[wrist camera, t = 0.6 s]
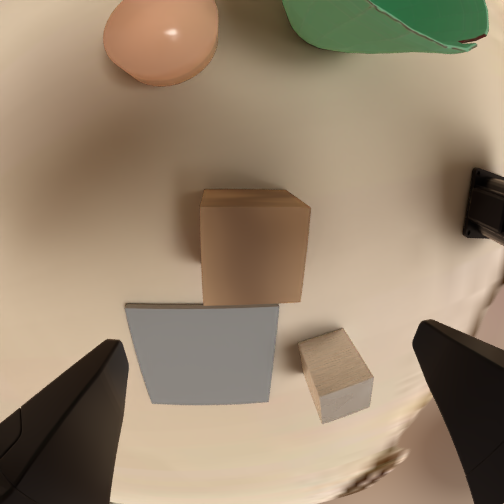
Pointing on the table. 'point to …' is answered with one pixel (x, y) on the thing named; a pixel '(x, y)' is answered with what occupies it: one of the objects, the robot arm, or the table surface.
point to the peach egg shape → (162, 39)
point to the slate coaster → (205, 351)
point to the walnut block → (252, 246)
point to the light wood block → (335, 375)
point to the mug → (389, 24)
